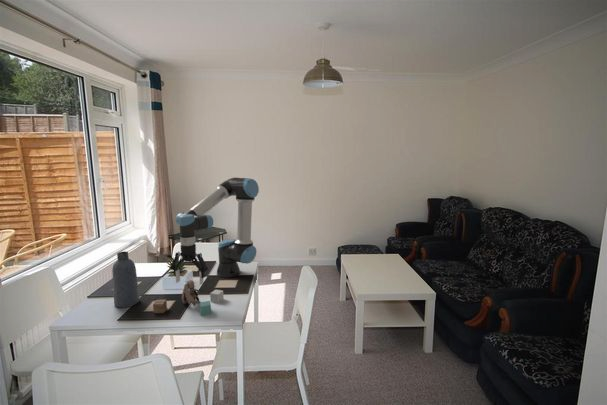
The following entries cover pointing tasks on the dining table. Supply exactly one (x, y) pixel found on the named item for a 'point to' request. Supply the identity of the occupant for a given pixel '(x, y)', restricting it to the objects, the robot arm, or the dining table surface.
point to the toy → (190, 293)
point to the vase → (125, 281)
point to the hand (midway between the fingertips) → (189, 282)
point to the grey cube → (216, 296)
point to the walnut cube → (159, 306)
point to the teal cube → (205, 308)
